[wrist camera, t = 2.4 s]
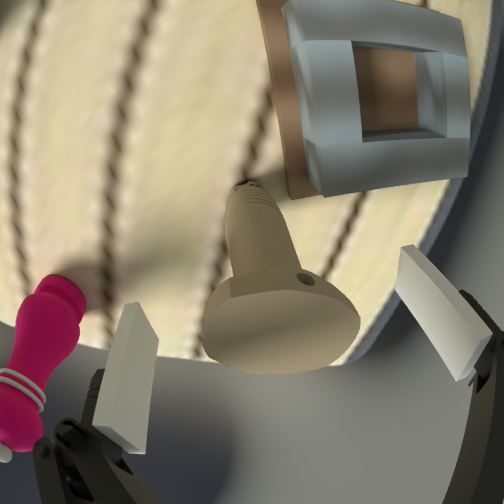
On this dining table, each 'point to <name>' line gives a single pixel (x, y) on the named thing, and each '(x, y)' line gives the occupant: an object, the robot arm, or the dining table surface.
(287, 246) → the handle
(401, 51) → the frame
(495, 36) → the dining table surface
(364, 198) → the dining table surface
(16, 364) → the pepper mill
